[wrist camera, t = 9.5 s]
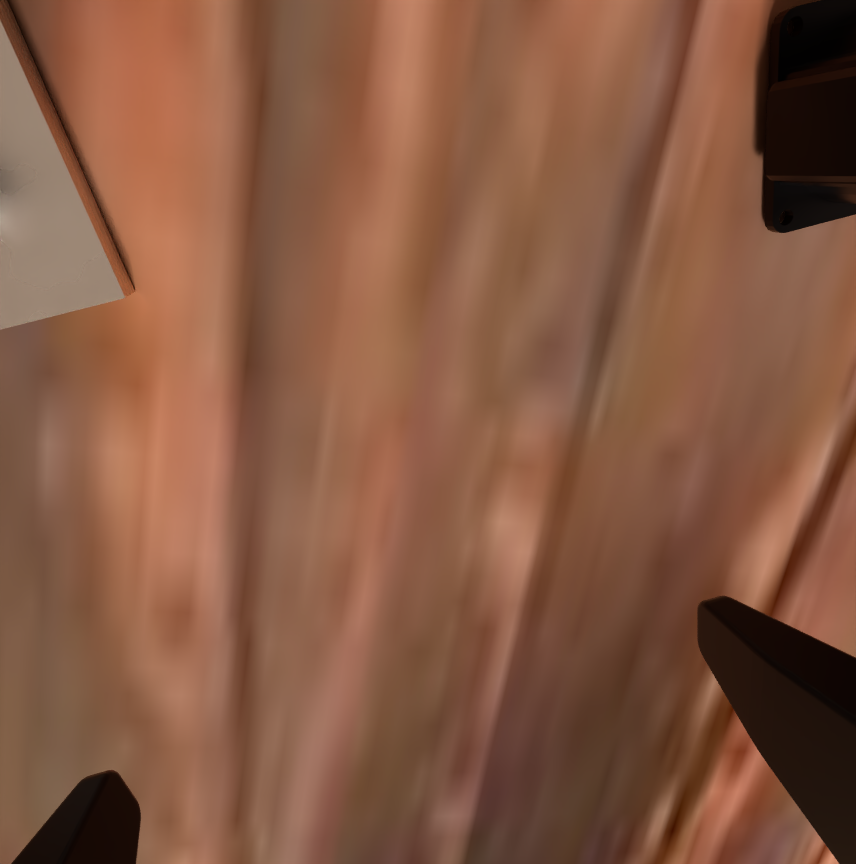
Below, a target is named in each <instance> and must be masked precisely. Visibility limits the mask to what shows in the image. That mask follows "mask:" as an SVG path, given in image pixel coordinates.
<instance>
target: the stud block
mask: <svg viewBox="0 0 856 864" xmlns="http://www.w3.org/2000/svg"><path fill="white" fill-rule="evenodd" d="M134 292H135V290H134V287H133V285H132V283H131V280H130V278H129V276H128V274H127V271H126V269H125V267H124V265H123V262H122V260H121V258H120V255H119V253H118V251H117V249H116V246H115V244H114V242H113V240H112V237H111V235H110V233H109V231H108V228H107V226H106V224H105V221H104V219H103V217H102V215H101V212H100V210H99V208H98V206H97V203H96V201H95V199H94V196H93V194H92V192H91V190H90V187H89V185H88V183H87V181H86V178H85V176H84V174H83V171H82V169H81V167H80V165H79V162H78V160H77V158H76V156H75V153H74V151H73V149H72V146H71V144H70V142H69V140H68V137H67V135H66V133H65V131H64V128H63V126H62V124H61V121H60V119H59V117H58V115H57V112H56V110H55V108H54V106H53V103H52V101H51V99H50V96H49V94H48V92H47V90H46V87H45V85H44V83H43V81H42V78H41V76H40V74H39V72H38V69H37V67H36V65H35V62H34V60H33V58H32V56H31V53H30V51H29V49H28V47H27V44H26V42H25V40H24V37H23V35H22V33H21V31H20V28H19V26H18V24H17V22H16V19H15V17H14V15H13V12H12V10H11V8H10V6H9V3H8V1H7V0H0V329H4V328H8V327H12V326H16V325H20V324H24V323H28V322H32V321H36V320H40V319H44V318H48V317H52V316H56V315H60V314H64V313H67V312H71V311H75V310H79V309H83V308H87V307H91V306H95V305H99V304H103V303H107V302H111V301H115V300H119V299H123V298H126V297H127V296H129V295H131V294H132V293H134Z"/></svg>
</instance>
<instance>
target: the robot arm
mask: <svg viewBox="0 0 856 864" xmlns="http://www.w3.org/2000/svg"><path fill="white" fill-rule="evenodd" d="M790 20H791V21H792V22H793V26H794V28H793V32H792V34H791V35H789V34H788V30H787V27H788V23H789V22H790ZM765 174H766V190H765V226H766V227H767V229H768V230H770V231H772V232H778V233H786V232H790V231H794V230H798V229H801V228H805V227H809V226H813V225H817V224H820V223H824V222H828V221H832V220H836V219H839V218H843V217H847V216H851V215H855V214H856V0H821V1H817V2H813V3H808V4H804V5H800V6H796V7H793V8H790V9H788V10H785V11H783V12H781V13H780V14H779V15H778V16H777V17H776V18H775V20H774V22H773V24H772V27H771V33H770V62H769V92H768V97H767V129H766V162H765ZM783 211H784V212H785V217H784V220H783V221H782V222H781V223H780V221H779V218H780V215H781V214H782V212H783ZM698 645H699V648H700V651H701V653H702V655H703V657H704V659H705V661H706V662H707V664H708V666H709V668H710V669H711V671H712V673H713V674H714V676H715V678H716V680H717V681H718V683H719V685H720V686H721V688H722V690H723V692H724V693H725V695H726V697H727V698H728V700H729V702H730V704H731V705H732V707H733V709H734V710H735V712H736V714H737V716H738V717H739V719H740V721H741V722H742V724H743V726H744V728H745V729H746V731H747V733H748V734H749V736H750V738H751V739H752V741H753V743H754V744H755V746H756V747H757V749H758V751H759V752H760V753H761V755H762V756H763V758H764V759H765V761H766V762H767V764H768V765H769V767H770V768H771V769H772V771H773V772H774V773H775V775H776V776H777V778H778V779H779V780H780V782H781V783H782V785H783V786H784V787H785V789H786V790H787V792H788V793H789V794H790V796H791V797H792V798H793V800H794V801H795V803H796V804H797V805H798V807H799V808H800V810H801V811H802V812H803V814H804V815H805V817H806V818H807V819H808V821H809V822H810V823H811V825H812V826H813V828H814V829H815V830H816V832H817V833H818V835H819V836H820V837H821V839H822V840H823V842H824V843H825V844H826V846H827V847H828V848H829V850H830V851H831V853H832V854H833V855H834V857H835V858H836V860H837V861H838V862H839V864H856V657H854V656H851V655H849V654H847V653H845V652H843V651H841V650H839V649H837V648H835V647H833V646H831V645H828V644H826V643H824V642H822V641H820V640H818V639H816V638H814V637H812V636H810V635H808V634H805V633H803V632H801V631H799V630H797V629H795V628H793V627H791V626H789V625H787V624H785V623H783V622H780V621H778V620H776V619H774V618H772V617H770V616H768V615H766V614H764V613H762V612H760V611H757V610H755V609H753V608H751V607H749V606H747V605H745V604H743V603H741V602H739V601H737V600H734V599H732V598H730V597H727V596H718V597H715V598H711V599H708V600H704V601H702V602H700V604H699V605H698ZM140 821H141V813H140V807H139V804H138V802H137V800H136V798H135V797H134V795H133V794H132V792H131V791H130V789H129V788H128V786H127V785H126V784H125V782H124V781H123V779H122V778H121V776H120V775H119V773H118V772H116V771H114V770H108V771H104V772H101V773H97V774H94V775H90V776H87V777H85V778H84V779H82V780H81V781H80V782H79V783H78V784H77V785H76V787H75V788H74V789H73V790H72V791H71V793H70V794H69V795H68V796H67V797H66V799H65V800H64V801H63V802H62V803H61V805H60V806H59V807H58V808H57V809H56V811H55V812H54V813H53V814H52V815H51V817H50V818H49V819H48V820H47V821H46V823H45V824H44V825H43V826H42V827H41V829H40V830H39V831H38V832H37V833H36V835H35V836H34V837H33V838H32V839H31V841H30V842H29V843H28V844H27V845H26V847H25V848H24V849H23V850H22V851H21V853H20V854H19V855H18V856H17V857H16V859H15V860H14V861H13V862H12V863H11V864H136V858H137V849H138V840H139V831H140Z"/></svg>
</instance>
